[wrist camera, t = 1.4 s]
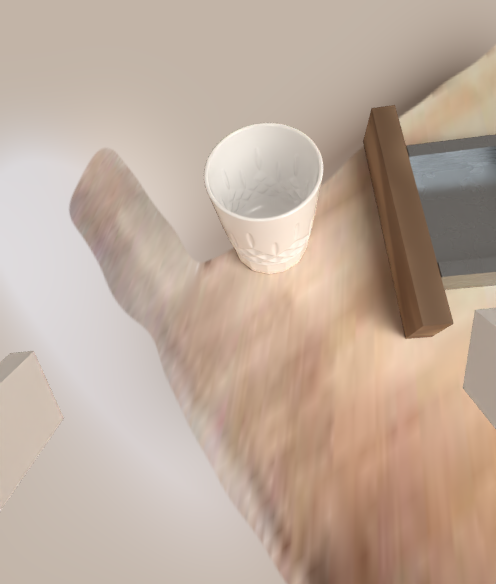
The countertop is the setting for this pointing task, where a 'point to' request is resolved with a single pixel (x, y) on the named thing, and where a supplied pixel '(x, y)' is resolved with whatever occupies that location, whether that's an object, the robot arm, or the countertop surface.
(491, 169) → the gray square tray
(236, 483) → the countertop surface
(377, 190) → the brown drawer face panel
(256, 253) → the white cup
